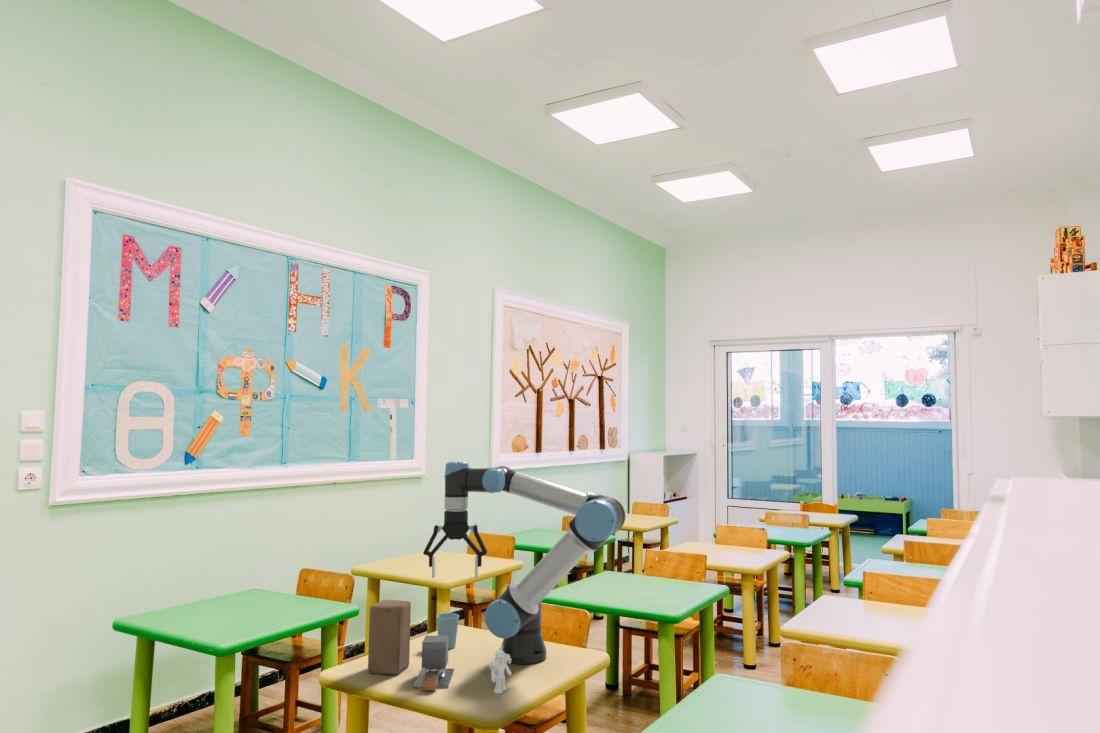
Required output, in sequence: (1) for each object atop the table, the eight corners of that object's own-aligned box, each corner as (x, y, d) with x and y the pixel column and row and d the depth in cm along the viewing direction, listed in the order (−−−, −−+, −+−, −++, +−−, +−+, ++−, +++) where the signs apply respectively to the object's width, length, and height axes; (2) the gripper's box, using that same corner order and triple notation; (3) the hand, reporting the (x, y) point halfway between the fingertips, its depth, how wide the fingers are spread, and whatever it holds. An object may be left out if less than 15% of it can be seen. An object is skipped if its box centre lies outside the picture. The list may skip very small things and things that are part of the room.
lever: (454, 669, 227) (454, 645, 227) (446, 691, 208) (447, 664, 208) (421, 669, 226) (422, 645, 227) (411, 691, 208) (411, 664, 208)
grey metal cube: (445, 668, 218) (445, 642, 218) (421, 668, 217) (422, 642, 218) (448, 660, 225) (448, 635, 225) (425, 660, 224) (425, 635, 225)
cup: (455, 650, 246) (455, 618, 247) (432, 649, 247) (433, 617, 248) (461, 644, 254) (461, 613, 254) (439, 643, 255) (440, 612, 256)
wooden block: (397, 676, 220) (399, 607, 222) (366, 673, 222) (368, 606, 224) (410, 666, 230) (412, 600, 232) (380, 663, 232) (382, 598, 234)
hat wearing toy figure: (503, 684, 214) (504, 642, 215) (514, 687, 212) (515, 644, 213) (484, 694, 206) (485, 650, 207) (496, 696, 204) (496, 652, 205)
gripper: (495, 508, 242) (494, 574, 240) (418, 508, 241) (417, 574, 239) (494, 511, 234) (493, 579, 232) (415, 511, 233) (414, 579, 231)
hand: (455, 577), depth 236 cm, fingers open, 13 cm apart
